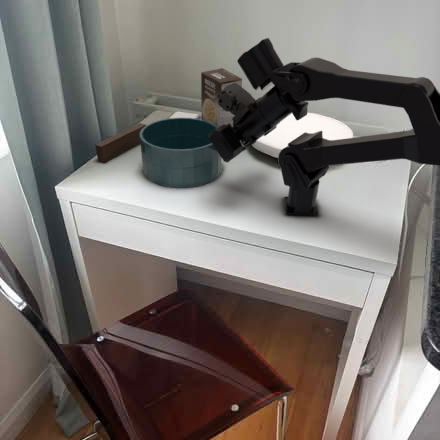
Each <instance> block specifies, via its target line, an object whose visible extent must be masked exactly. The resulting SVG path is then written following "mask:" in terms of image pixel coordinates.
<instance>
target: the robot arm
mask: <svg viewBox="0 0 440 440" xmlns="http://www.w3.org/2000/svg"><path fill="white" fill-rule="evenodd" d="M236 62H237V64H238V65H239V67H240V69H241V70H242V72H243V73H244V75H245V77H246V78H247V80H248V82H249V83H250V86H251V87H252V89H253V90H255V91H257V90H259V89H260V90H261V92H263V91H265V90H267V89H269V88H270V87H271V86H272V85H273V86H272V88H270V89H269V90H268V91H266V93H264V94H263V95H262V96H260V97H258V98H257V99H256V98H255V97H254V96H252V94H251V93H250V92H249V91H248V90H247V89H245V88H244V87H243V86H242V87H241V86H240V85H239V84H237V83H232V84H230V85H228V86H226V87H224V89H223V90H222V92H221V93H220V94H219V95H218V96H217V97H218V99H219V100H218V105H219V106H220V107H221V108H223V109H224V110H225V111H226V112H230V113H232V114H233V115H235V116H234V117H233V118H232V120H233V127H232V126H231V124H230V123H229V124H227V125H225V124H223V125H221V126H220V127H218V128H216V129H215V130H213V131H212V132H211V133H210V134H209V135H208V137H209V140H210V141H211V143H212V144H213V146H214V147H215V149H216V150H217V152H218V153H219V154H220V156H221V157H222V160H223V162H225V163H229V162H231V161H232V160H233V159H235V158H237V156H239V155H240V154H242V153H243V152H245V150H247V148H250V147H251V146H252V145H253V144H254V143H255V142H256V140H258V139H259V138H260V137H262V136H263V135H264V136H266V135H267V134H269V133H270V132H271V131H273V130H274V129H275V128H276V125H278V124H279V123H280V122H281V121H282V120H283V119H285V118H286V117H287V116H289V115H290V114H291V113H292V114H293V115H294V117H295V119H296V120H300V119H301V118H303V117H305V116H306V115H307V112H308V106H309V102H315V101H316V102H317V101H321V100H327V99H342V100H349V101H355V102H361V103H368V104H374V105H375V104H376V105H381V106H388V107H395V108H401V109H403V110H404V111H405V113H406V115H407V116H408V119H409V121H410V124H411V127H412V129H411V128H410V129H408V130H403V131H401V130H400V131H394V132H387V133H379V134H372V135H371V134H370V135H363V136H357V137H353V138H347V139H339V140H327V139H324V138H323V137H322V131H319V132H316V133H306V132H305V133H303V134H302V135H300V136H299V137H297V138H296V139H294V140H293V141H291V142H290V143H288V146H287V147H285V148H284V149H282V150H281V152H280V153H279V157H278V158H277V161H278V162H277V163H278V166H279V168H280V171H281V176H282V180H283V184H284V186H287V187H288V193H287V196H284V198H283V201H284V203H283V204H284V212H285V214H286V215H287V216H310V217H311V216H312V217H317V216H319V208H318V204H317V198H318V192H319V187H320V179H322V178H323V177H324V176H326V174H327V173H328V171H329V169H330V166H339V165H351V164H362V163H372V162H373V163H374V162H383V161H393V160H395V161H396V160H407V161H410V162H412V163H415V164H418V165H427V166H428V165H429V166H440V92H439V91H438V89H437V87H436V85H435V84H434V82H433V81H432V80H431V79H429V77H425V76H420V77H410V76H402V75H393V74H385V73H377V72H367V71H359V70H350V69H346V68H344V67H342V66H341V65H338V64H337V63H335V62H334V61H330V60H327V59H324V58H321V57H310V58H308V59H307V60H304V61H302V62H296V61H295V62H294V61H292V62H288V63H286V64H284V63H283V61H282V59H281V58H280V56H279V54H278V53H277V52H276V50H275V47H274V45H273V43H272V41H271V40H270V38H269V37H266V38H263V39H261V40H260V41H259V42H258V43H257V44H255V45H254V46H253V47H251V48H250V49H248V50H247V51H244V52H243V53H242V54H241V55H240V56H239V57H238V58H237V61H236Z"/></svg>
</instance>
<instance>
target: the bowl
mask: <svg viewBox="0 0 440 440" xmlns="http://www.w3.org/2000/svg"><path fill="white" fill-rule="evenodd" d="M167 118H168V119H167ZM167 118H162V119H159V120H156V121H151V122H150V123H148V124H145V125H146V126H145V127H144V128H143V129H141V132H140V144H139V145H140V153H141V162H142V163H141V164H142V169H143V174H144V176H145V178H146V179H148V180H149V181H151V182H152V183H154V184H157V185H161V186H163V187H169V188H176V189H177V188H179V189H180V188H181V189H182V188H185V189H186V188H195V187H200V186H204V185H207V184H209V183H210V182H213V181H214V180H216V179H217V178H218V177H219V176H220V175H221V172H222V162H223V161H222V160H223V159H222V157H221V156H220V154H219V153H218V152H217V150H216V149H215V147H214V146H213V144H212V143H211V141H210V140H209V137H208V135H209V134H210V133H211V132H212V131H213V130H215V129H216V128H218V126H216V125H215V124H213V123H211V122H208V121H205V120H201V118H198V119H195V118H169V117H167Z"/></svg>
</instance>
